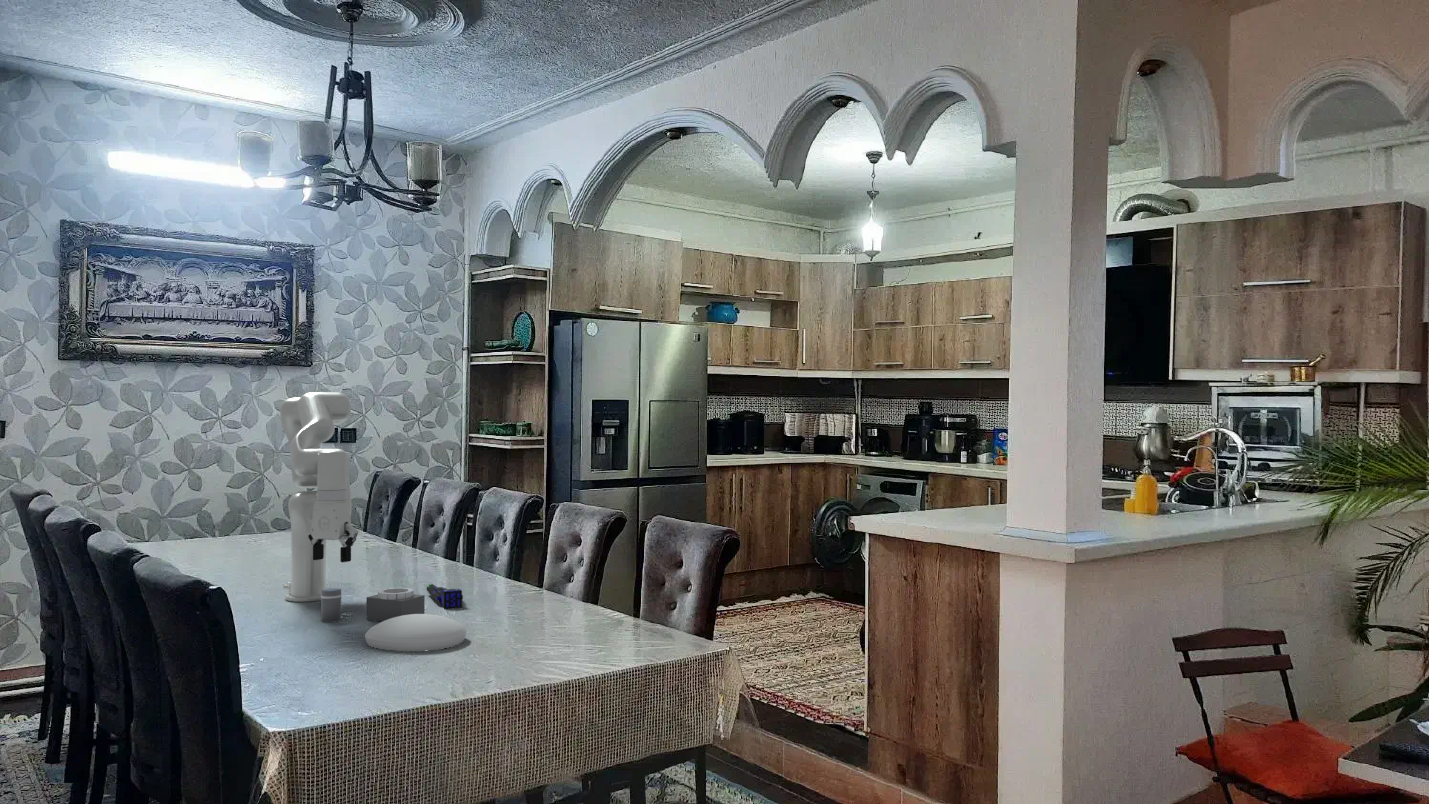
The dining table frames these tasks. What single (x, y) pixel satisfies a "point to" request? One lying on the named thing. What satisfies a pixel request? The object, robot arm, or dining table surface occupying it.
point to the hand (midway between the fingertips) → (331, 560)
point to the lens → (330, 605)
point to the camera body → (394, 604)
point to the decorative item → (416, 633)
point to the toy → (446, 596)
